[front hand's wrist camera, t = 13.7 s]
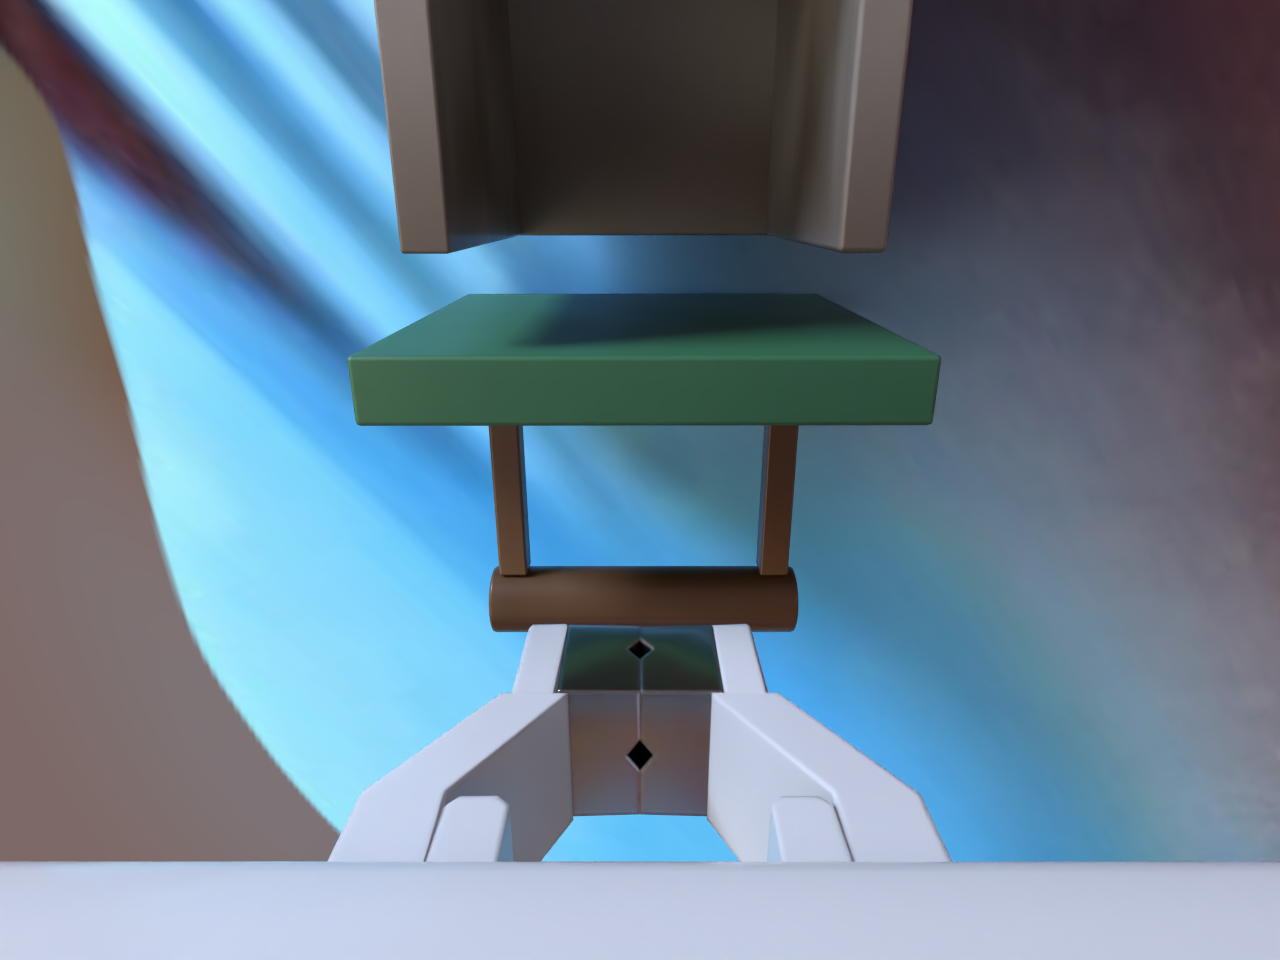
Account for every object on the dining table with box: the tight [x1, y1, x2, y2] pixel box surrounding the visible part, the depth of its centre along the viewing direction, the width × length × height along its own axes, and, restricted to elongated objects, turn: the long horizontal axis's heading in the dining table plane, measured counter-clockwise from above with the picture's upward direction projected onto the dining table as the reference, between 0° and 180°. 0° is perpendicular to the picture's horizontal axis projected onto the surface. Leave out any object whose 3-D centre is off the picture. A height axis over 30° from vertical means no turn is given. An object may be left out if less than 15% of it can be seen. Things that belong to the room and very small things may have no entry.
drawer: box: [348, 0, 941, 632], centre depth 15 cm, size 24×10×9 cm, turn 0°
